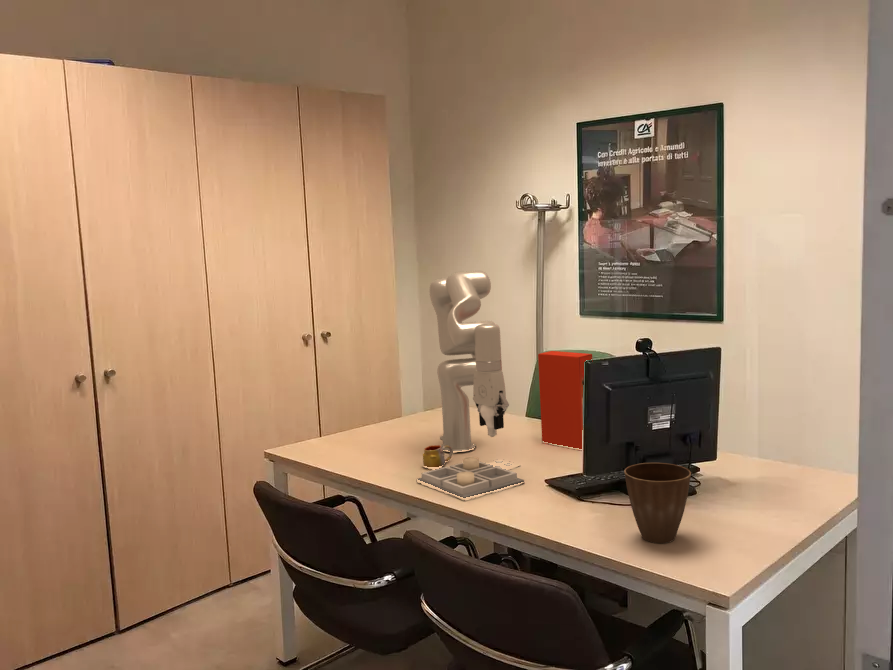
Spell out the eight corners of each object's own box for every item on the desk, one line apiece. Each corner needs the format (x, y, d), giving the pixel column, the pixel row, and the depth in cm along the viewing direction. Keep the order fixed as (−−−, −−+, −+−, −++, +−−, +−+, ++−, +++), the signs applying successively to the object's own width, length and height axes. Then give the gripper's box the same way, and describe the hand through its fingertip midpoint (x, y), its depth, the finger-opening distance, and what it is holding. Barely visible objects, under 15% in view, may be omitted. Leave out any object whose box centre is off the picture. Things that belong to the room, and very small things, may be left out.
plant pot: (659, 521, 191) (658, 458, 189) (706, 540, 178) (705, 472, 176) (613, 534, 184) (611, 469, 182) (657, 555, 171) (655, 485, 169)
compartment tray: (416, 482, 233) (415, 466, 233) (474, 467, 246) (473, 451, 245) (464, 501, 214) (463, 483, 213) (524, 483, 227) (523, 466, 226)
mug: (432, 472, 244) (431, 451, 243) (418, 467, 249) (417, 447, 248) (460, 463, 252) (459, 443, 251) (446, 459, 257) (445, 440, 256)
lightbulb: (487, 433, 231) (485, 397, 230) (506, 434, 228) (505, 398, 227) (477, 438, 226) (475, 401, 224) (497, 439, 222) (495, 402, 221)
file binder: (581, 451, 259) (578, 357, 255) (541, 443, 271) (538, 353, 268) (595, 446, 264) (592, 353, 260) (556, 438, 277) (552, 350, 273)
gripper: (460, 365, 229) (463, 424, 231) (497, 370, 215) (500, 434, 217) (480, 362, 234) (483, 420, 236) (518, 367, 220) (520, 429, 222)
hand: (491, 426), depth 226 cm, fingers closed on lightbulb, 6 cm apart
